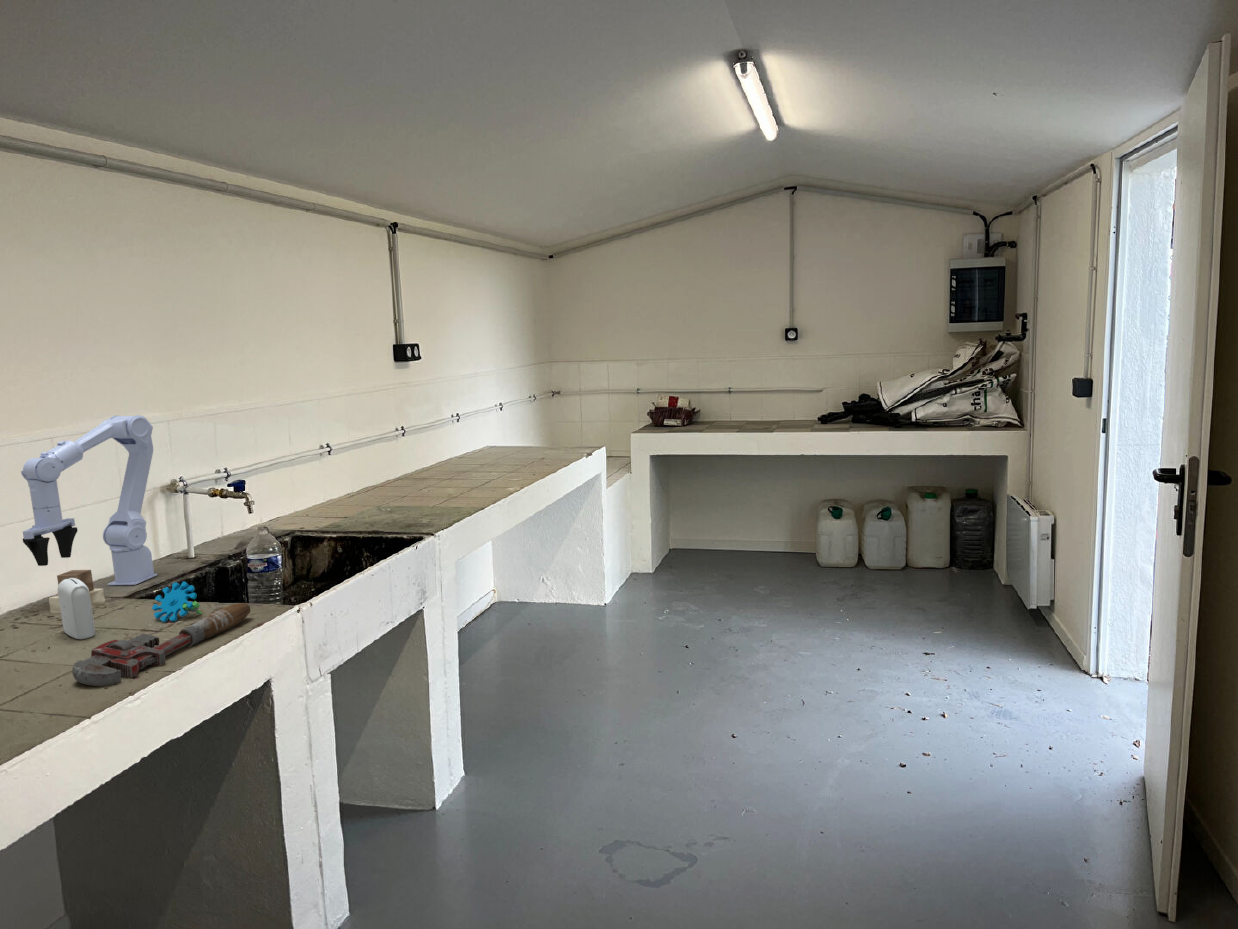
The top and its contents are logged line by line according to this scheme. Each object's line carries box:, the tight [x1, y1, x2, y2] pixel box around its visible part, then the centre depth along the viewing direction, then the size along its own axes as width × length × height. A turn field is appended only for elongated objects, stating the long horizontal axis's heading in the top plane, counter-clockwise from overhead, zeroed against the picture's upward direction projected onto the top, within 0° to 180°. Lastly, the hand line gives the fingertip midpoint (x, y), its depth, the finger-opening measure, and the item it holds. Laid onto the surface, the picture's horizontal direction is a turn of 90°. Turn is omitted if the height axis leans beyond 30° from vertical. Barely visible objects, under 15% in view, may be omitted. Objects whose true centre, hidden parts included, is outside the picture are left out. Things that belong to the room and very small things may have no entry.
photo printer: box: [57, 578, 96, 640], centre depth 194 cm, size 10×4×12 cm, turn 47°
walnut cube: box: [56, 569, 95, 592], centre depth 215 cm, size 5×5×5 cm
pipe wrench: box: [71, 602, 251, 687], centre depth 181 cm, size 40×12×5 cm, turn 164°
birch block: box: [48, 588, 106, 614], centre depth 216 cm, size 8×8×4 cm
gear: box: [151, 581, 203, 623], centre depth 204 cm, size 11×6×10 cm
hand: (54, 561), depth 220 cm, fingers open, 7 cm apart
